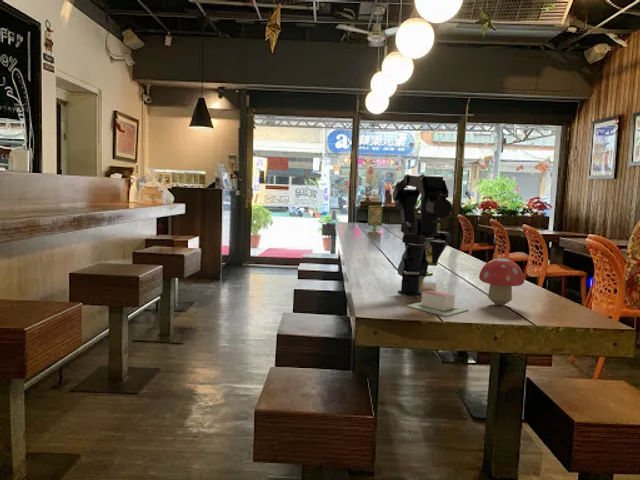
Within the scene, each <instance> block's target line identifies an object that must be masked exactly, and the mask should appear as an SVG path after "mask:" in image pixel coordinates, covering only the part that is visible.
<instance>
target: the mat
mask: <svg viewBox="0 0 640 480" xmlns="http://www.w3.org/2000/svg"><path fill="white" fill-rule="evenodd" d="M406 307H407V308H410V309H411V308H412V309H415V310H419V311H422V312H427V313H432V314H435V315H439V316H443V317H449V316H454V315H458V314H461V313H465V312H468V311H469V310H470V309H469V308H465V307H461V306H456V305H454V308H453V309H449V310H445V311H443V310H438V309H434V308H430V307H426V306H422V305H421V301H420V302H415V303H411V304H410V303H409V304H406Z"/></svg>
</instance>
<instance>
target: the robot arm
mask: <svg viewBox="0 0 640 480" xmlns="http://www.w3.org/2000/svg"><path fill="white" fill-rule="evenodd" d="M412 187H413V188H412ZM449 193H450V192H449V189H448V186H447V182H446V180H445V179H444V176H443V175H442V174H440V175H438V174H425V173H423V174H420V175H419V174H410V173H407V174H404V176H403V179H401V180H400V181H399V182H397V183H396V184H395V186H394V189H393V192H392V200H393V201H394V206H395V208H396V209H397V210H398V212H400V217H401V218H400V220H401V226H400V232H401V233H402V243H404V248H405V249H404V252H403V253H402V255H401V260H400V262H399V264H398V266H397V274H398V275H399V276H401V287H400V290H397V293H400V294H403V295H409V296H412V297H413V296H417V295H422V292H423V291H421V280H422V279H421V277H424V278H425V277H426V276H427V273H428V268H429V261H428V258H427V252H426V247H427V245H426V244H425V243H426V242H429V244H430V246H431V262H432V264H434V265H435V264H437V262H438V260H440V258H441V256H442V254H443V252H444V250H445V249H446V247H447V246H448V245H449V244H450V242H451V243H452V238H453V235H452V234H451V233H450V232H446V231H439V223H442V219H445V218H447V217H448V216H450V215H451V213H452V211H453V206H452V203H451V201H450V200H448V199H447V198H449ZM420 195H421V196H420ZM419 197H420V198H419ZM418 199H419V200H420V208H419V209H420V211H419V217H417V218H416V215H415V207H416V205H417V202H418Z"/></svg>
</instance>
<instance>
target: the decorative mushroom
mask: <svg viewBox="0 0 640 480" xmlns="http://www.w3.org/2000/svg"><path fill="white" fill-rule="evenodd" d="M478 278H479V280H480V281H481V282H482V283H484V284H488V285H489V288H488V294H487V298H488V299H489V300H490V301H491V302H492V303H493V304H494V305H496V306H504V305H507V304H508V303H510V302H511V301H512V300H513V293H512V292H513V290H512V289H513V288H512V287H520V286H522V285H524V283H525V275H524V272H523V269H521V267H520V266H519V265H518V264H517V263H516V262H515V261H513V260H511V259H510V258H509V259H508V258H503V257H499V258H494V259H492V260H490V261H488V262H487V263H485V264H484V265H483V266H482V268H481V269H480V272H479V277H478Z"/></svg>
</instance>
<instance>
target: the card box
mask: <svg viewBox="0 0 640 480" xmlns="http://www.w3.org/2000/svg"><path fill="white" fill-rule="evenodd" d="M421 292H422V294H421V301H420V302H421V305H422V306H426V307H430V308H434V309H438V310H443V311H445V310H449V309H453V308H454V306H455V298H456V297H455V294H451V293H447V292H443V291H437V290H432V289H431V290H426V291H421Z"/></svg>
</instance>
